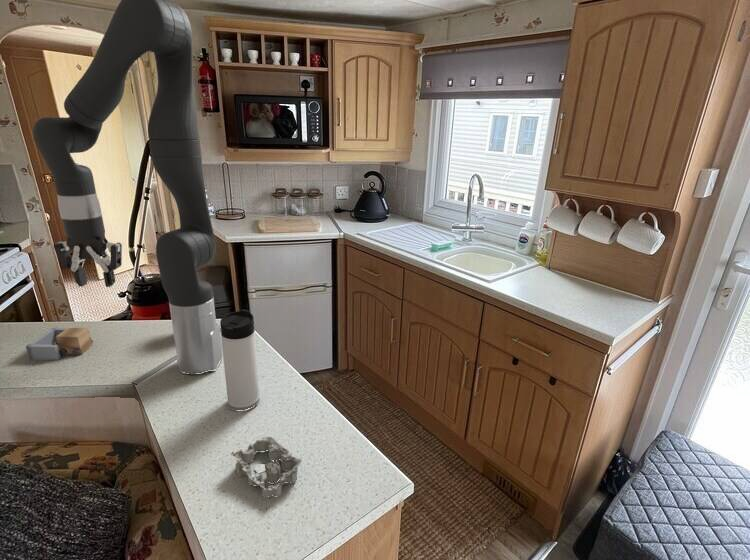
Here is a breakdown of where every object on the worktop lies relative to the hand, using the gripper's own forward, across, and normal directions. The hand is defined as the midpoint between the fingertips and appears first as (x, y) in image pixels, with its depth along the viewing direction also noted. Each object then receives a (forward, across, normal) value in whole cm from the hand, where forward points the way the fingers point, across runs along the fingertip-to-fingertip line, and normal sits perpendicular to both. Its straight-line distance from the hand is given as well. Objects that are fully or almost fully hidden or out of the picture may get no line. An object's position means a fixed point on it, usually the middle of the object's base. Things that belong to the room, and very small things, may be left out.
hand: (96, 285), depth 98 cm
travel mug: (+18, -38, +20) cm, 46 cm away
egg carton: (+18, -46, +39) cm, 63 cm away
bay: (+17, +12, 0) cm, 21 cm away
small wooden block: (+18, +8, 0) cm, 19 cm away
